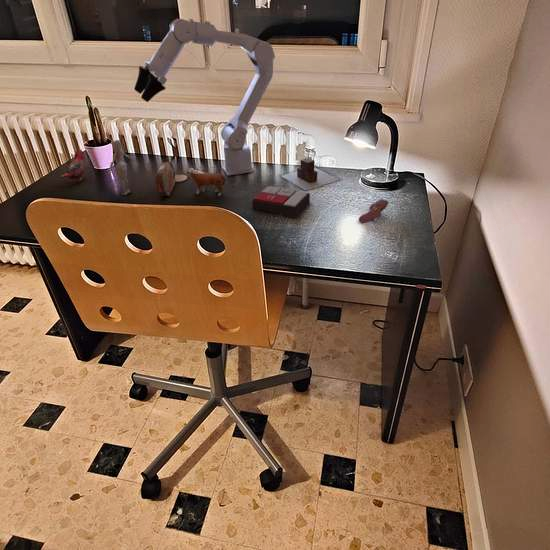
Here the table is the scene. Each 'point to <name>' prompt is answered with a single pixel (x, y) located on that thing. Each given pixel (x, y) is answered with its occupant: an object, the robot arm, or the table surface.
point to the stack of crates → (309, 176)
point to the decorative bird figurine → (76, 167)
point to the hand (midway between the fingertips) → (140, 95)
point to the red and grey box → (281, 201)
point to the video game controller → (374, 211)
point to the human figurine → (120, 164)
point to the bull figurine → (206, 180)
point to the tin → (165, 179)
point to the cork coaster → (180, 178)
